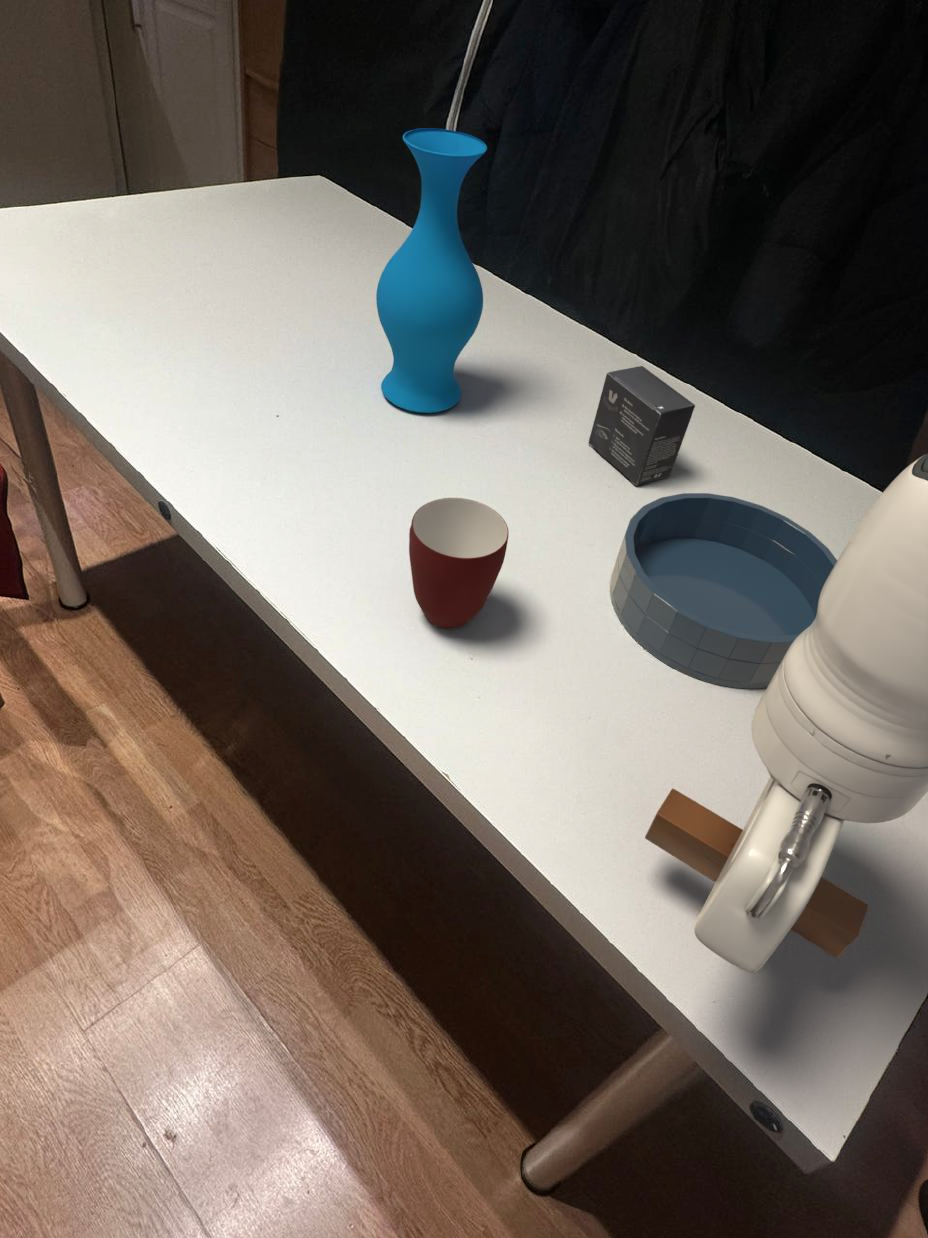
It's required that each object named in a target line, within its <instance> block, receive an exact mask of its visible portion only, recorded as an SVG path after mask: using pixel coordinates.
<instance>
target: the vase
mask: <svg viewBox="0 0 928 1238" xmlns="http://www.w3.org/2000/svg"><path fill="white" fill-rule="evenodd" d="M402 140H403V142H404V143H405V145H406V146H407V148H408V149H409V151H410V153H411V154H412V155H413V158H414V159H415V160H414V161H415V162H416V164H417V167H418V170H419V173H420V174H419V175H420V180H421V198H420V207H419V211H418V215H417V218H416V220H415V223H414V225H413V227H412V229H411V231H410V233H408V236H407V237H406V239H405V240H404V242H403V243H402V244H401V246H399V248H398V249H397V250H396V251H395V252H394V254H392V256H391V258H390V259H389V260H388V261H387V263H386V265H385V266H384V268H383V270H382V272H381V274H380V277H379V279H378V283H377V287H376V297H375V298H376V299H375V300H376V301H375V302H376V310H377V315H378V319H379V322H380V325H381V327H382V329H383V330H382V331H383V332H384V335H385V336H386V339H387V341H388V343H389V346H390V348H391V352H392V357H393V362H392V367H391V370H390V371H389V372H388V373H387V374H386V375H385V376H384V378H383V379H382V381H381V384H380V390H381V392H382V395H383V396H384V397H385V398H386V399H387V400H388V401H389V402H391V403H392V404H393V405H394V406H396V407H398V408H400V409H403V410H405V411H409V412H413V413H421V414H432V413H433V414H434V413H440V412H443V411H446V410H448V409H450V408H453V407H454V406H455V405H457V404H458V402H459V401H460V400H461V397H462V390H461V387H460V385H459V383H458V381H457V380H456V378H455V373H454V372H455V366H456V365H455V364H456V363H457V360H458V358H459V356H460V354H461V353H462V351H463V350H464V348H466V346H467V344H468V343H469V341H470V340H471V338H472V337H473V335H474V334H475V332H476V330H477V329H478V326H479V323H480V320H481V317H482V313H483V310H484V309H483V308H484V291H483V286H482V283H481V282H482V281H481V279H480V276H479V274H478V272H477V271H478V270H477V269H476V267H475V264H474V263H473V261H472V259H471V258H470V257H471V256H470V255H469V254H468V251H467V250H466V247H465V244H464V242H463V239H462V236H461V233H460V229H459V223H458V203H459V196H460V191H461V187H462V184H463V182H464V179H465V177H466V176H467V173H468V172H469V170H470V168H472V166H473V165H474V164H475V162H476V161H478V159H480V158H481V157H482V156H483V155H484V154H485V153H486V152H487V150H488V146H487V144H486V143H485V142H484V141H482V139H479V138H478V137H475V136H473V135H472V134H471V135H470V134H468V133H464V132H460V131H457V130H451V129H445V128H436V127H435V128H432V127H424V128H422V127H421V128H416V129H411V130H408V131H406V132H405V133H403V135H402Z"/></svg>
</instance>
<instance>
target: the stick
mask: <svg viewBox="0 0 928 1238" xmlns="http://www.w3.org/2000/svg"><path fill="white" fill-rule="evenodd" d="M742 831H743V828H740V827H739V826H737V825H736V824H734V823H732V822H730V821H729V820H727V819H726V818H724V817H722V816H720V815H719V814H717V813H716V812H714V811H712V810H711V809H709V808H708V807H705V806H703V805H702V804H700V803H699V802H697V801H695V800H694V799H692V798H690V797H688V796H687V795H685V794H683V793H682V792H680V791H678V790H677V789H675V788H671V789H670V791H669V793H668V794H667V796H666V798H665V799H664V801H663V802H662V804H661V805H660V807H659V808H658V810H657V812H656V813H655V815H654V818H653V819H652V822H651V824H650V825H649V827H648V830H647V831H646V834H645V836H644V839H645V840H647V841H648V842H650V843H651V844H653V845H655V846H656V847H657V848H659V849H661V850H662V851H664V852H666V853H667V854H669V855H671V856H672V857H673V858H676V859H677V860H678V861H680V862H682V863H684V864H685V865H687V866H688V867H689V868H692V869H693V870H694V871H696V872H698V873H699V874H701V875H702V876H704V877H706V878H707V879H709V880H711V881H712V882H714V884H715V883H716V881H717V879H718V877H719V875H720V873H721V871H722V869H723V867H724V865H725V863H726V861H727V860H728V858H729V856H730V854H731V852H732V850H733V848H734V846H735V844H736V842H737V840H738V838H739V836H740V834H741V833H742ZM869 907H870V905H869V904H868V903H867V902H866V901H863V900H862V899H860V898H858V897H857V896H855V895H854V894H852V893H850V892H849V891H847V890H845V889H844V888H842V887H840V886H838V885H836V884H835V883H834V882H832V881H829V880H828V879H827V878H825V877H824V876H821V878H820V881H819V883H818V885H817V887H816V889H815V891H814V893H813V895H812V896H811V898H810V900H809V902H808V903H807V905H806V907H805V908H804V910H803V912H802V913H801V915H800V916H799V918H798V919H797V921H796V922H795V924H794V925H793V926H792V928H791V929H790V930H789V931H792V932H793V933H795V934H797V935H798V936H800V937H802V938H803V939H804V940H806V941H808V942H810V943H811V944H813V945H815V946H816V947H817V948H819V949H820V950H822V951H824V952H825V953H827V954H829V955H830V956H832V957H834V958H835V959H838V958H839V957H840V956H841V955H842V954H843V953H844V952H845V951H846V950H847V949H848V948H849V946H851V944H852V943H854V941H856V940H857V938H858V937H859V936H860V933H861V930H862V927H863V924H864V921H865V919H866V916H867V913H868V910H869Z"/></svg>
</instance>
